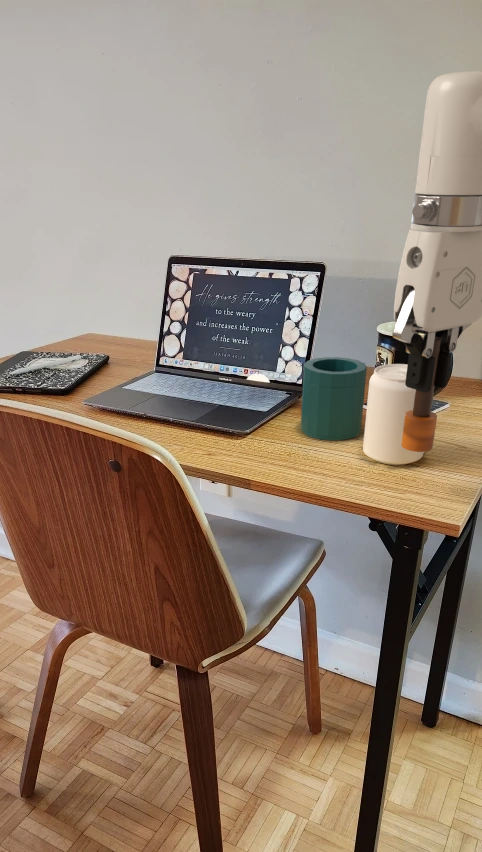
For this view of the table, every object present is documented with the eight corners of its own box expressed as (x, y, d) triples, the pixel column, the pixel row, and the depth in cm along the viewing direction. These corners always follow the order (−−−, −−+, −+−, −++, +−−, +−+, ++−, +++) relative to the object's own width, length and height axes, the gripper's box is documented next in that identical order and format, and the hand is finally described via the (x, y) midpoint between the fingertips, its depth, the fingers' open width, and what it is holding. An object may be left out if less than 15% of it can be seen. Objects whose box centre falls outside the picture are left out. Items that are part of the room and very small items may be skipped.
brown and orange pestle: (434, 443, 83) (451, 335, 77) (429, 454, 80) (446, 343, 74) (404, 438, 84) (418, 332, 78) (398, 449, 81) (412, 340, 75)
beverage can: (391, 440, 100) (400, 359, 95) (435, 458, 94) (448, 373, 89) (350, 452, 96) (357, 369, 91) (393, 472, 90) (404, 384, 85)
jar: (366, 423, 106) (372, 360, 102) (352, 444, 99) (358, 376, 95) (310, 416, 110) (314, 354, 105) (293, 435, 103) (296, 370, 98)
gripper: (429, 221, 64) (404, 409, 72) (528, 211, 72) (496, 382, 80) (368, 215, 69) (352, 391, 78) (467, 207, 77) (442, 367, 86)
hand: (425, 385), depth 79 cm, fingers closed on brown and orange pestle, 2 cm apart
